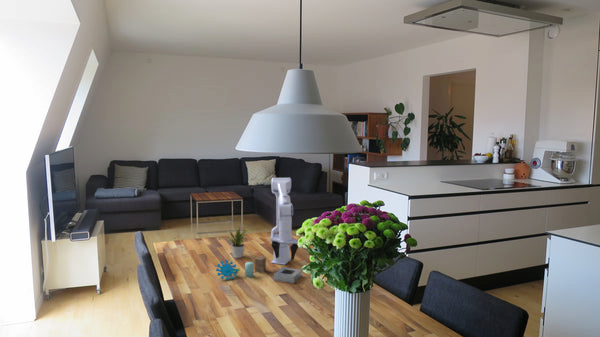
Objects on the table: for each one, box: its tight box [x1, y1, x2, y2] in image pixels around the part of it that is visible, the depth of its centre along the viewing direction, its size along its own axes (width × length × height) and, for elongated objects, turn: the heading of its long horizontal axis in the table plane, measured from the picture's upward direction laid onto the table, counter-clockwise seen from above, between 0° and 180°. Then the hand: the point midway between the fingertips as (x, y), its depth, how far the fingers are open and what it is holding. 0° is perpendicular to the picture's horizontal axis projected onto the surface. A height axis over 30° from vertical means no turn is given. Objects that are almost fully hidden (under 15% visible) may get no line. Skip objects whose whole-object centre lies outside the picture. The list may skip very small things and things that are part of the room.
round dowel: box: [244, 261, 255, 278], centre depth 206 cm, size 4×4×6 cm
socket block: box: [273, 266, 303, 284], centre depth 204 cm, size 10×10×3 cm
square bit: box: [254, 255, 267, 274], centre depth 212 cm, size 4×4×6 cm
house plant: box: [227, 226, 251, 259], centre depth 232 cm, size 14×14×16 cm
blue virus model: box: [215, 259, 241, 281], centre depth 204 cm, size 11×6×10 cm
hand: (285, 258), depth 202 cm, fingers open, 7 cm apart
